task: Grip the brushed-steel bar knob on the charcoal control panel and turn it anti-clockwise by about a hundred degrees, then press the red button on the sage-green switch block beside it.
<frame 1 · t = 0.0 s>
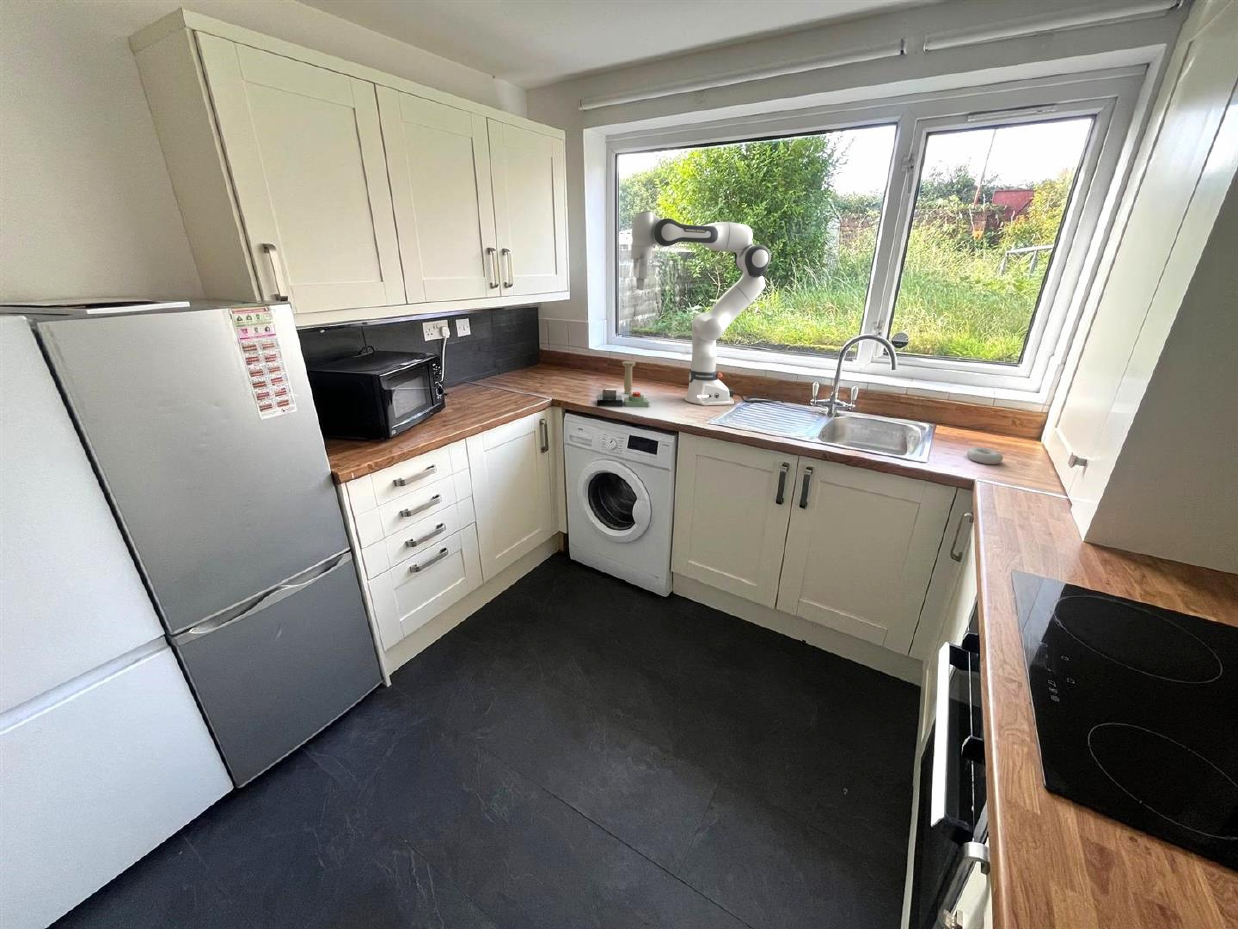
hand: (639, 289, 213), 48 cm above the countertop, tool pointing down, fingers open, 8 cm apart
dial: (609, 393, 219), point 5 cm above the countertop, hinge at 0.0°
handle: (627, 393, 241), on the countertop
donut: (982, 460, 168), on the countertop
button: (636, 394, 220), point 4 cm above the countertop, slide at 0.1 cm
switch block: (636, 404, 222), on the countertop
hob panel: (609, 404, 221), on the countertop
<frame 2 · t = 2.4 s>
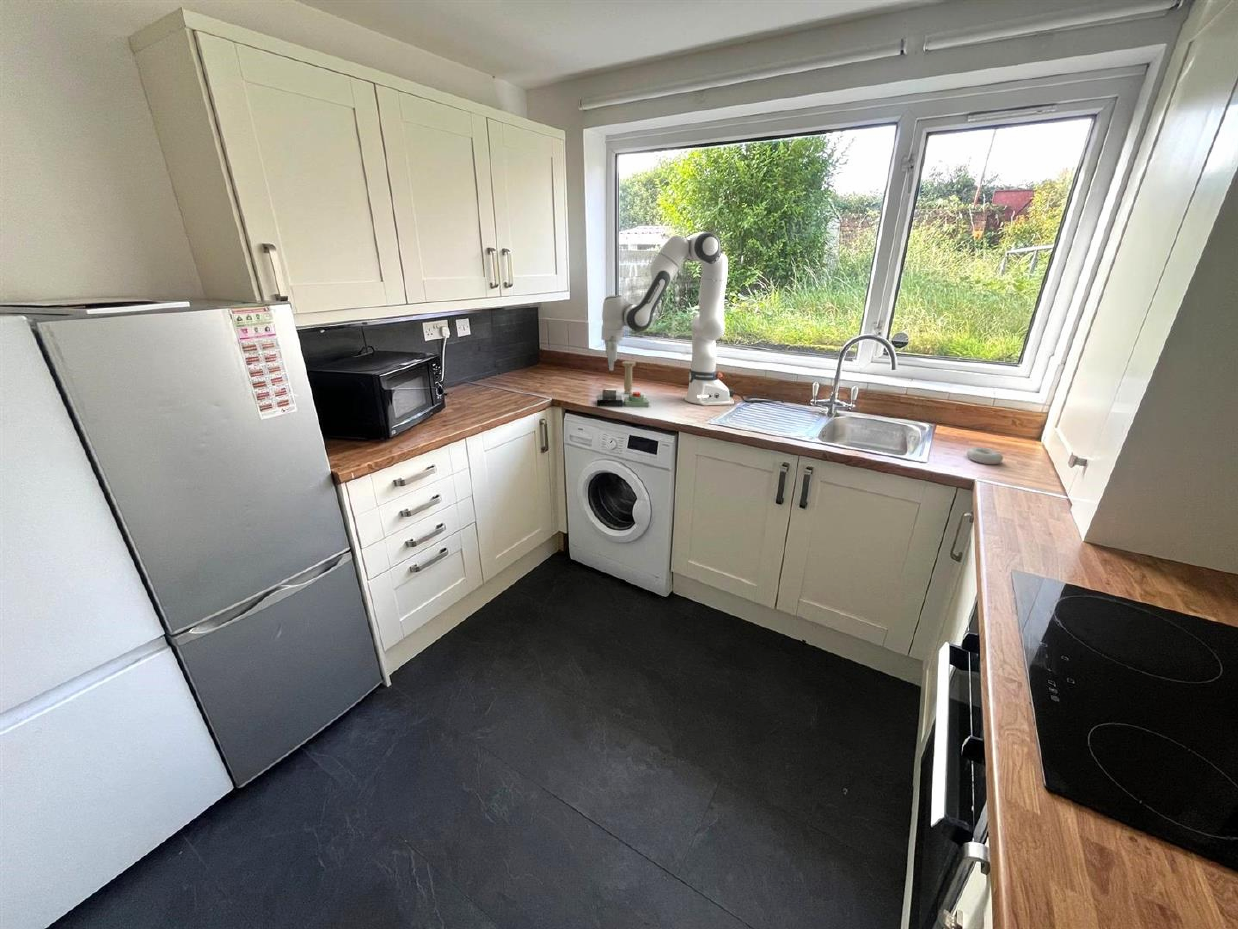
hand: (610, 368, 215), 16 cm above the countertop, tool pointing down, fingers open, 8 cm apart
nothing on the countertop moved.
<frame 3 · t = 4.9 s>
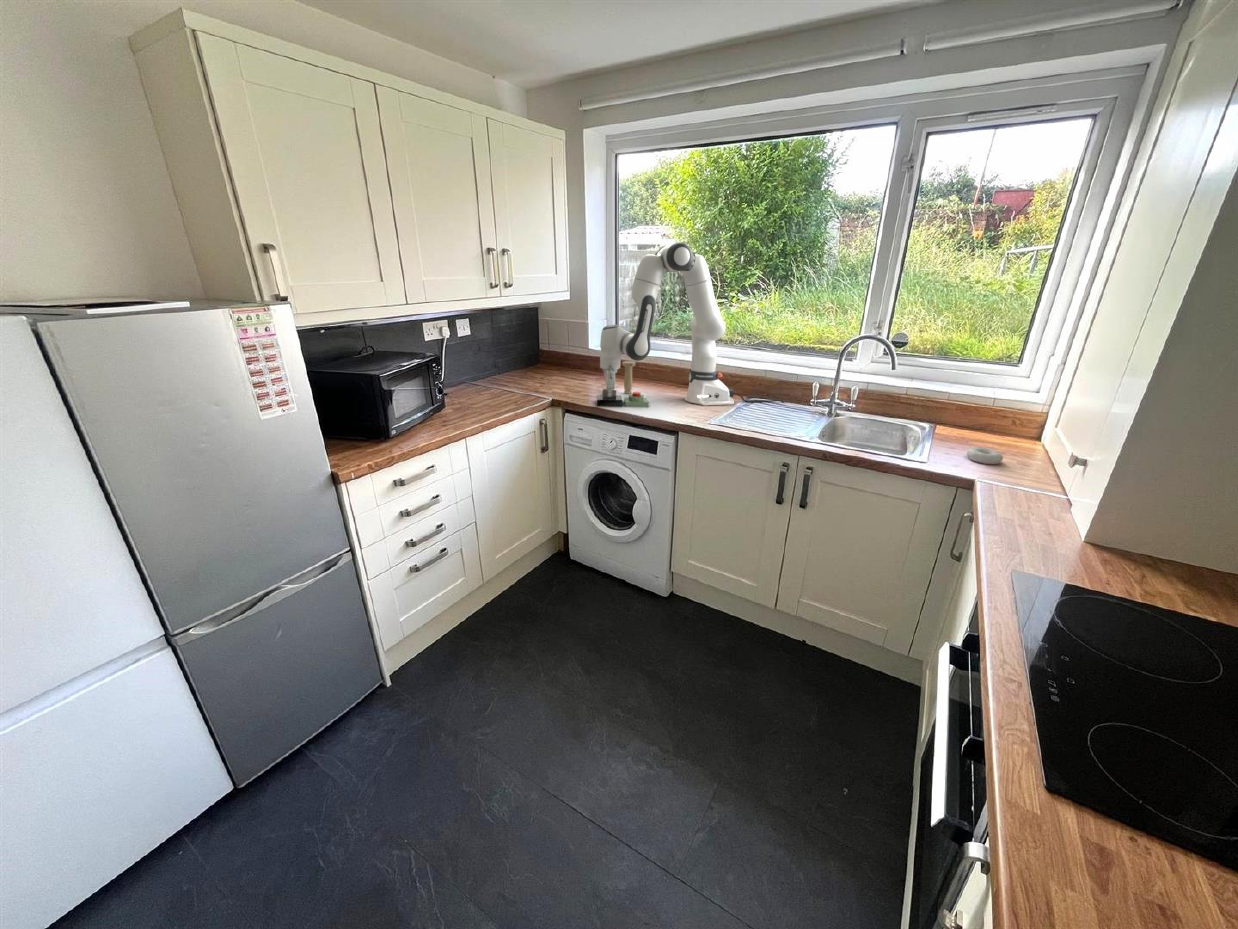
hand: (609, 395, 219), 4 cm above the countertop, tool pointing down, fingers closed on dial, 2 cm apart
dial: (609, 393, 219), point 5 cm above the countertop, hinge at 0.0°, touching gripper
everything else where it was.
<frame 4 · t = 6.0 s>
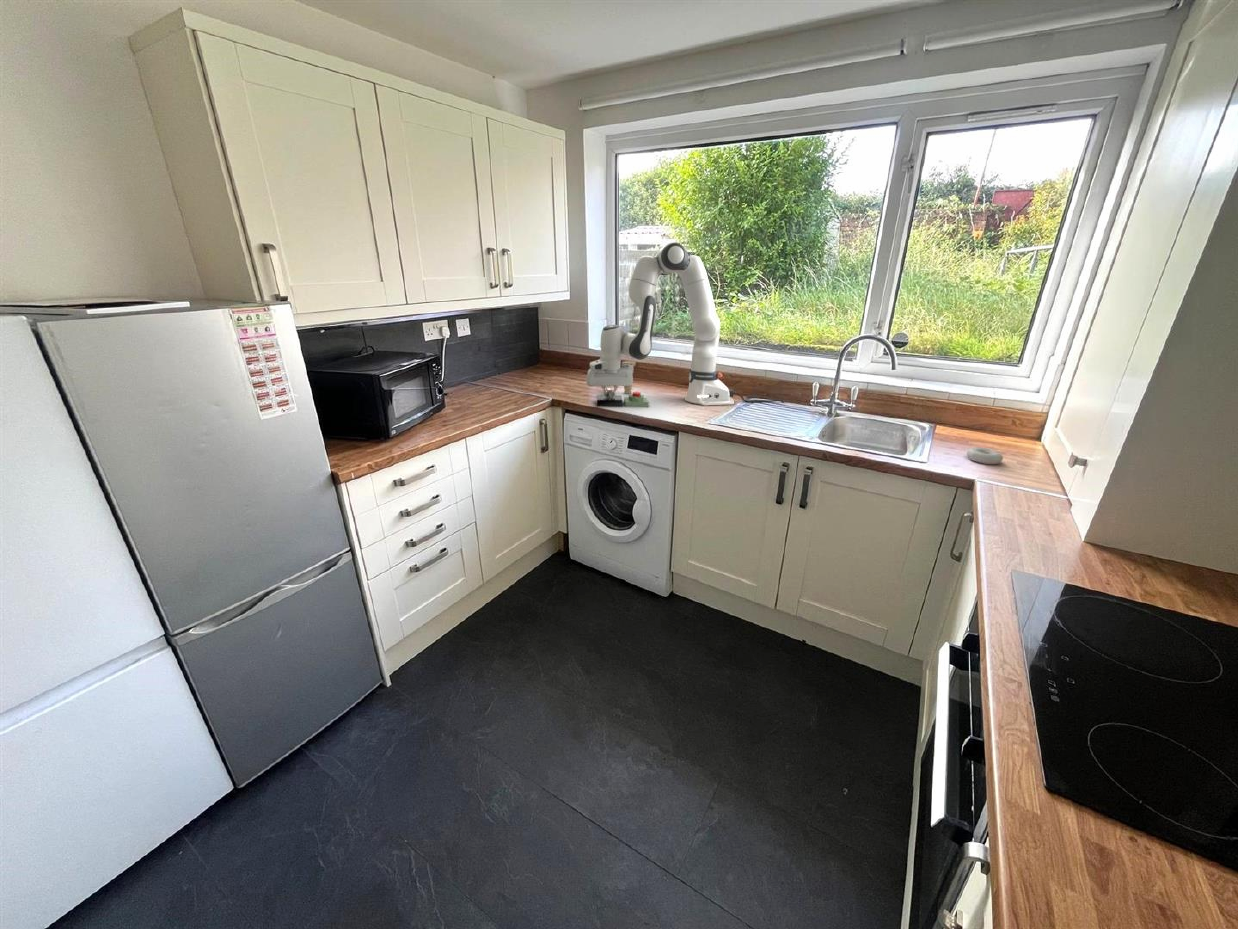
hand: (609, 395, 219), 4 cm above the countertop, tool pointing down, fingers closed
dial: (609, 393, 219), point 5 cm above the countertop, hinge at 99.6°
everything else where it was.
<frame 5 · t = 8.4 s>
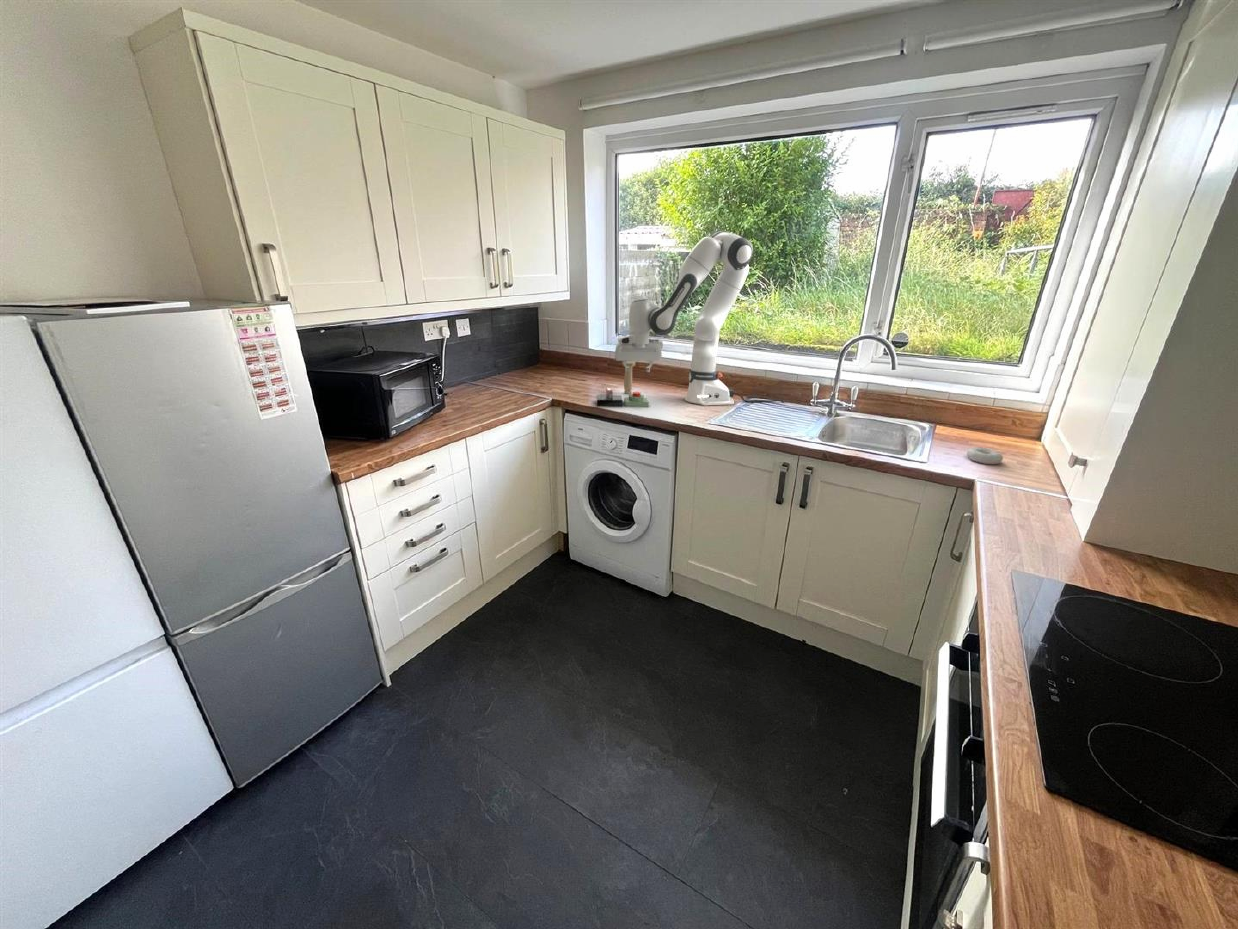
hand: (637, 371, 217), 15 cm above the countertop, tool pointing down, fingers open, 8 cm apart
nothing on the countertop moved.
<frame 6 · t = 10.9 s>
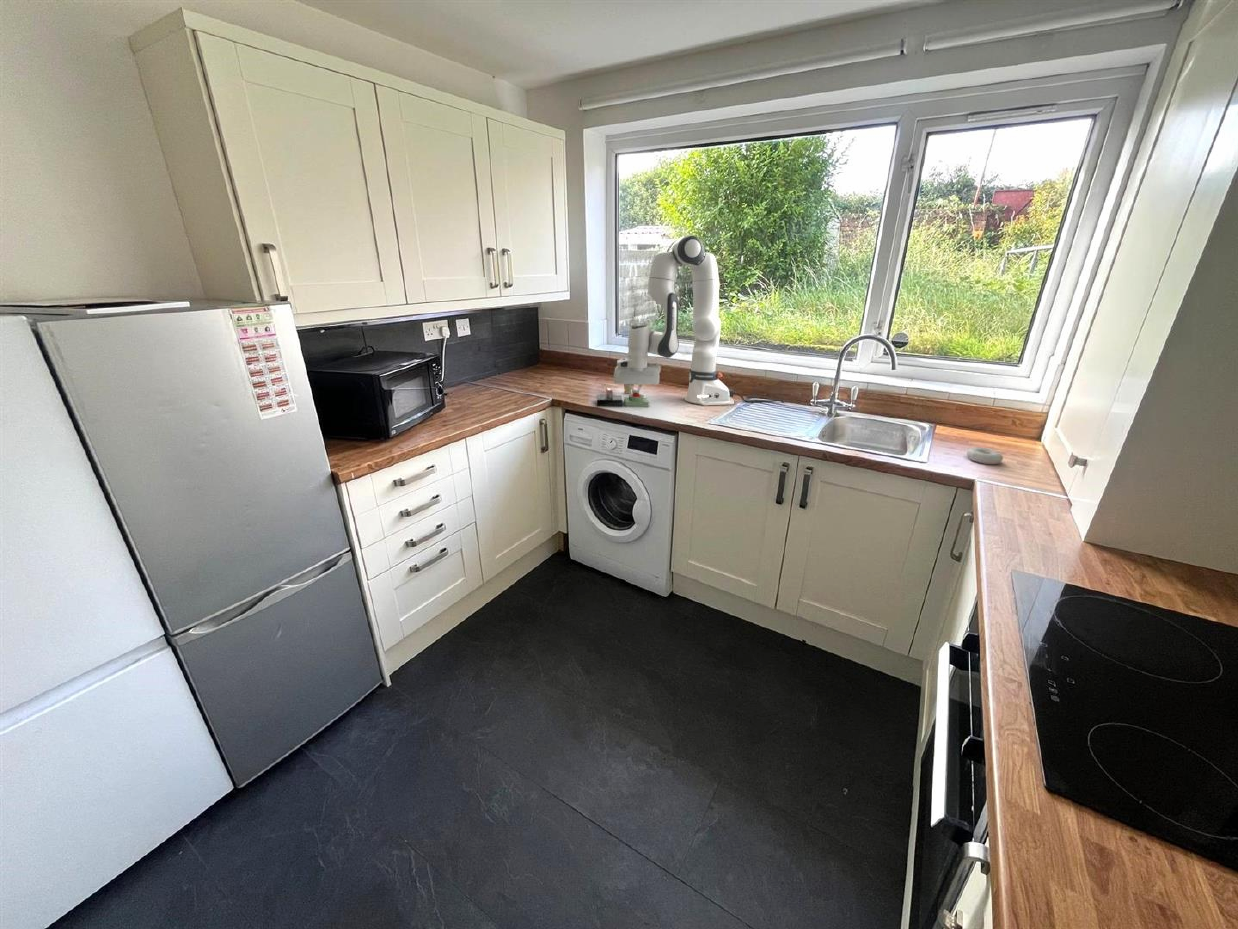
hand: (635, 393, 220), 5 cm above the countertop, tool pointing down, fingers closed, pressing on button
button: (636, 396, 220), point 4 cm above the countertop, slide at -0.6 cm, touching gripper
everything else where it was.
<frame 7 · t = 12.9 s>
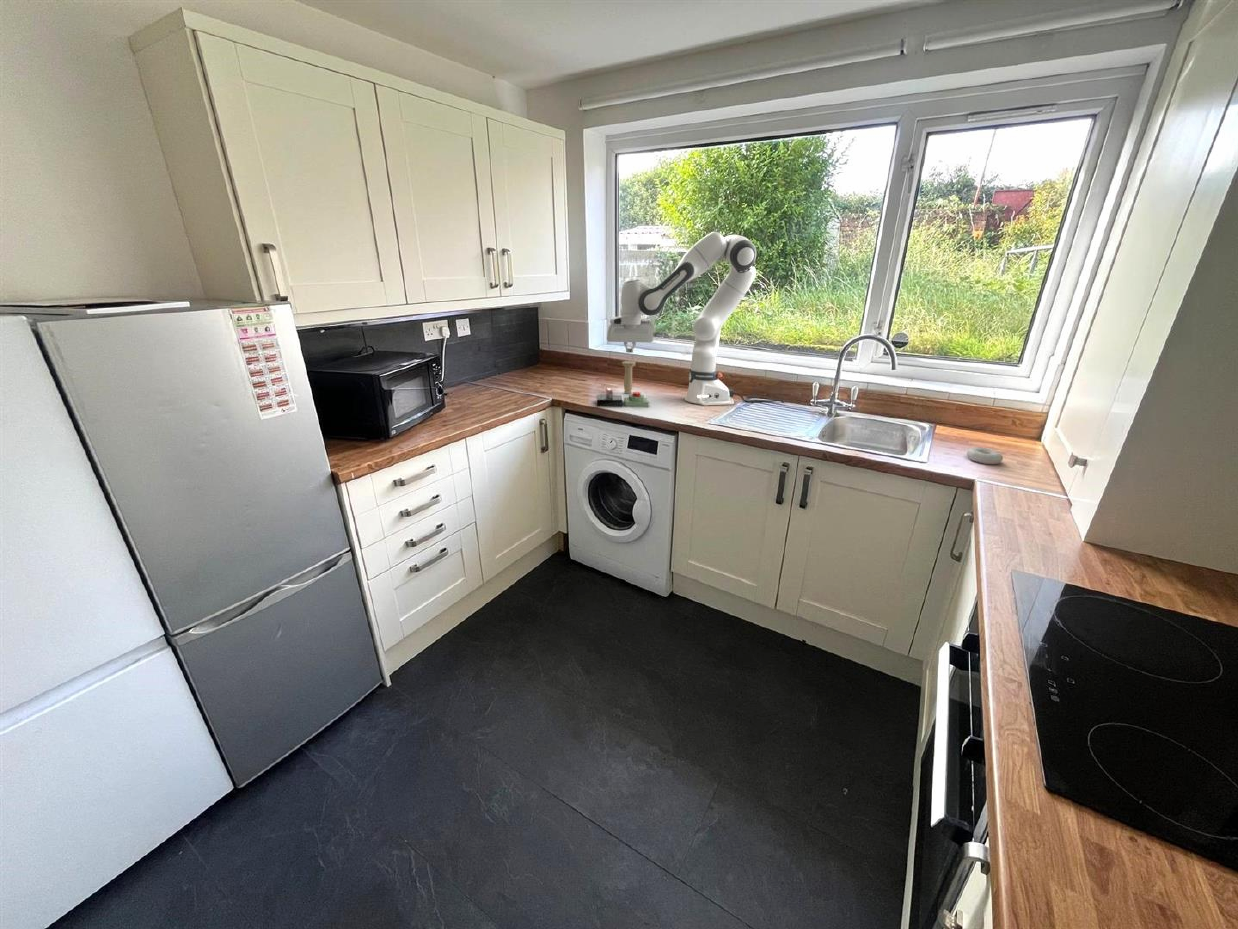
hand: (629, 352, 219), 22 cm above the countertop, tool pointing down, fingers closed
button: (636, 394, 220), point 4 cm above the countertop, slide at 0.1 cm
everything else where it was.
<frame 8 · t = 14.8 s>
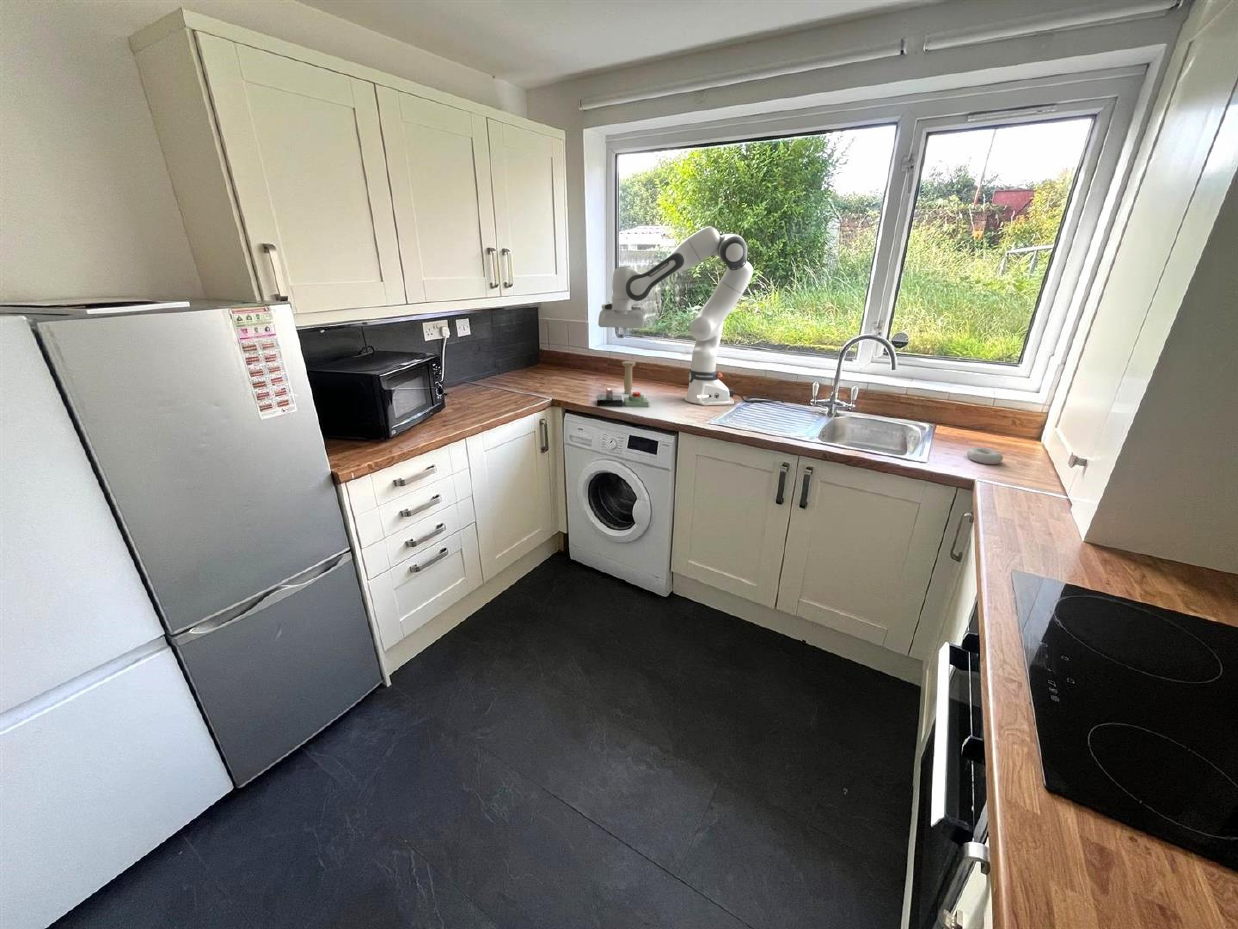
hand: (620, 338, 223), 27 cm above the countertop, tool pointing down, fingers closed
nothing on the countertop moved.
at the end: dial at +100° (first picture: +0°); button pushed in 1.1 cm at the most during the clip, back to where it started at the end; button slide at 0.1 cm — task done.
